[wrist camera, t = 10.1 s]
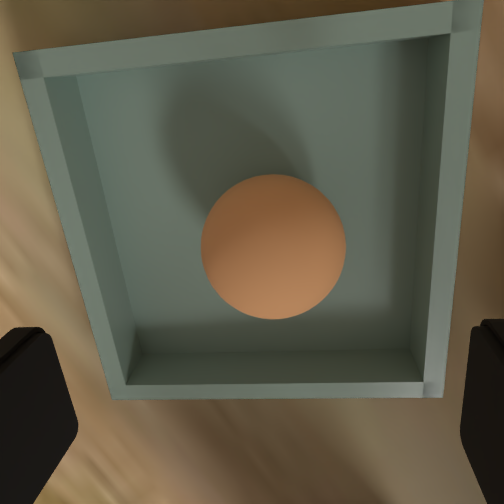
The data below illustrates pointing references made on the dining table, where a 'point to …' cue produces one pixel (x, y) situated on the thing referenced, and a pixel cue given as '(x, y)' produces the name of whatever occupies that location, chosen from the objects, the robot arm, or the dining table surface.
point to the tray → (255, 164)
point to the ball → (273, 246)
